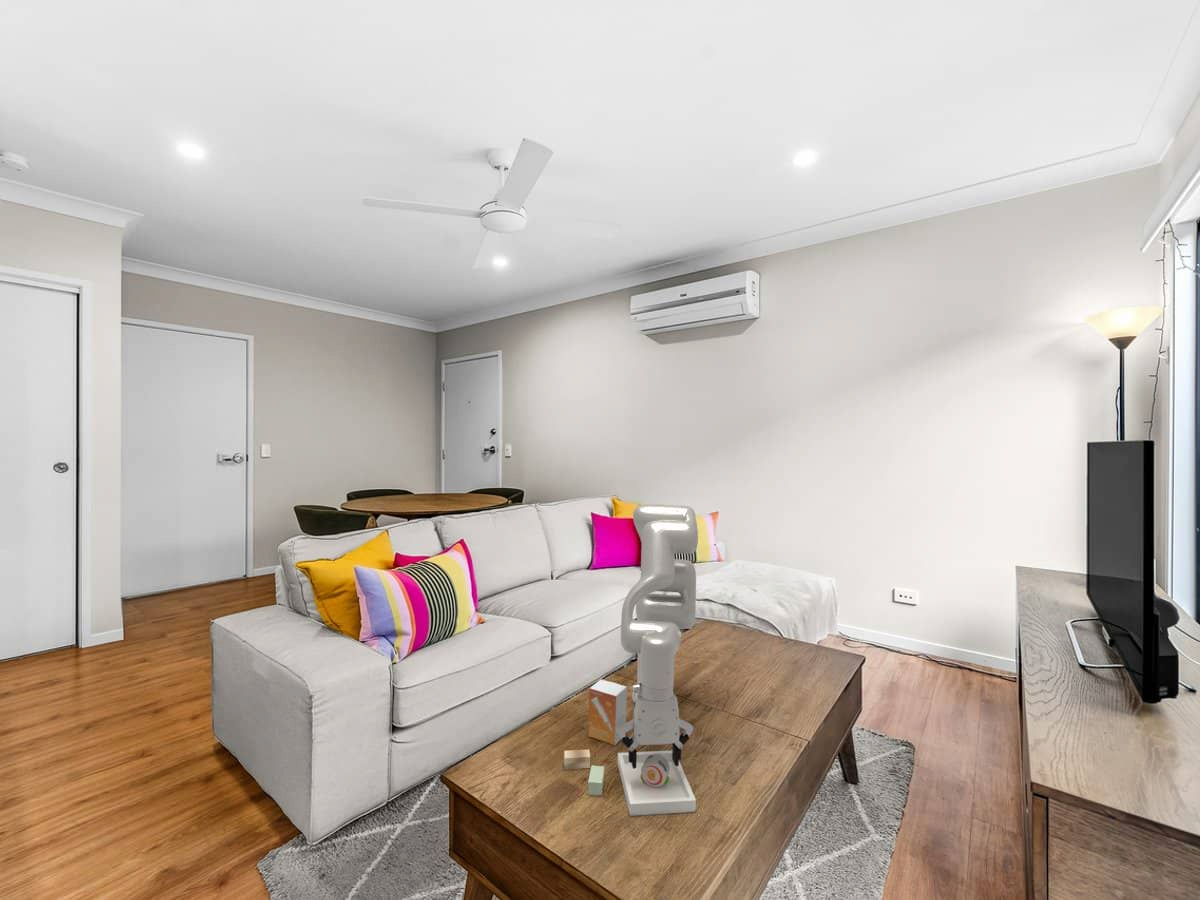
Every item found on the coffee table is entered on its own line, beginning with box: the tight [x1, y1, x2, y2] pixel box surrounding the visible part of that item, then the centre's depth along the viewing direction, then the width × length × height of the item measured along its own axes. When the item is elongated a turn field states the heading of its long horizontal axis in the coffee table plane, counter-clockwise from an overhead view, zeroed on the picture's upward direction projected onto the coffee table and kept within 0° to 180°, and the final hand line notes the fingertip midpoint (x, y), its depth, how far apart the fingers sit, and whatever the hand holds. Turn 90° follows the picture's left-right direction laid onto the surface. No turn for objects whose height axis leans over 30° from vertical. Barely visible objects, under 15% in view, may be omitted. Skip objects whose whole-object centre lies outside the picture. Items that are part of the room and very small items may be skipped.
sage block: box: [587, 764, 605, 796], centre depth 122 cm, size 6×3×3 cm, turn 174°
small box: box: [587, 678, 628, 746], centre depth 142 cm, size 8×6×13 cm
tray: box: [617, 750, 697, 817], centre depth 122 cm, size 18×14×2 cm
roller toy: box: [640, 754, 669, 787], centre depth 122 cm, size 4×6×6 cm
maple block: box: [563, 749, 591, 770], centre depth 129 cm, size 6×3×3 cm, turn 96°
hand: (654, 763), depth 122 cm, fingers open, 9 cm apart
